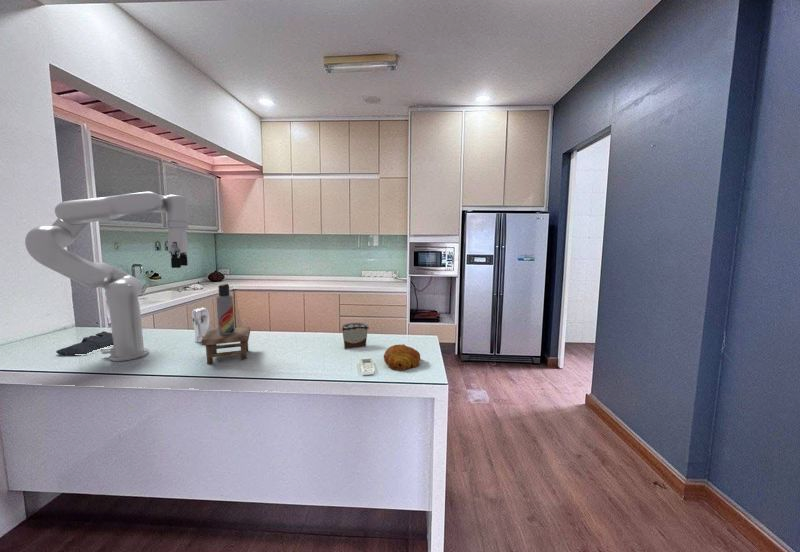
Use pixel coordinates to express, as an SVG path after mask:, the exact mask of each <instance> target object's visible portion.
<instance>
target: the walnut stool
mask: <svg viewBox="0 0 800 552" xmlns="http://www.w3.org/2000/svg"><path fill="white" fill-rule="evenodd" d="M250 334H251V326H243V327H234V333H232V334H229V335H220V334H219V330H218V329H208V331H207V333H206V334H205V336H204V337H203V339H202V340H201V342H202V343H201V346H205V351H206V353H205V354H206V364H207V365H212V364H214V358H221V357H231V356H240V360H241V361H246V360H247V359H248V354H247V352H249V338H250V336H251V335H250ZM229 348H240V350H233V351H224V352H218V350H220V349H221V350H222V349H229Z"/></svg>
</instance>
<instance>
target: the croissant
mask: <svg viewBox="0 0 800 552" xmlns="http://www.w3.org/2000/svg"><path fill="white" fill-rule="evenodd" d="M383 360H384V362H385V365H386V366H387V367H388V368H390V369H392V370H395V371H403V370H409V369H416V367H418V366H419V365H420V362H421V353H420V352H419V351H418V350H417V349H415V348H413V347H411V346H407V345H405V344H394V345H391V346H388V348H387V349H386V350H385V352H384V354H383Z"/></svg>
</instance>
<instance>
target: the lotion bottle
mask: <svg viewBox="0 0 800 552" xmlns="http://www.w3.org/2000/svg"><path fill="white" fill-rule="evenodd" d="M217 287H218V296H216V311H217V312H216V313H217V327H218V330H219V334H220V335H229V334H232V333H234V328H235V317H234V301H233V295H232V294H230V285H229V283H224V284H220V285H218V286H217Z"/></svg>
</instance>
